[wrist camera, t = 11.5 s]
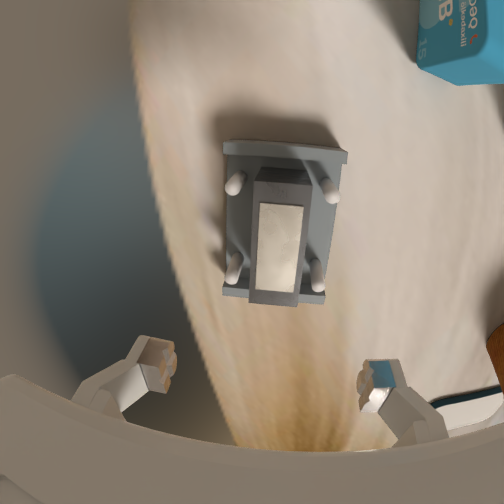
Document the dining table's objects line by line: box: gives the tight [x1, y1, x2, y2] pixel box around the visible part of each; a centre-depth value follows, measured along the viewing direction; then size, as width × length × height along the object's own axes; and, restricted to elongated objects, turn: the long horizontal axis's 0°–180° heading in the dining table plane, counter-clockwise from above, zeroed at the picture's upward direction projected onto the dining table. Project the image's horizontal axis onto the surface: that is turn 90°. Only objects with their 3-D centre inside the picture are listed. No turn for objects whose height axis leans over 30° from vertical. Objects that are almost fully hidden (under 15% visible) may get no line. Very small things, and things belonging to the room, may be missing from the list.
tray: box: [222, 139, 348, 304], centre depth 26 cm, size 15×10×5 cm
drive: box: [249, 167, 313, 307], centre depth 24 cm, size 10×4×6 cm, turn 178°
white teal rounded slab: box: [430, 387, 504, 431], centre depth 40 cm, size 24×12×2 cm, turn 89°
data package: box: [416, 0, 504, 86], centre depth 12 cm, size 12×4×12 cm, turn 172°
